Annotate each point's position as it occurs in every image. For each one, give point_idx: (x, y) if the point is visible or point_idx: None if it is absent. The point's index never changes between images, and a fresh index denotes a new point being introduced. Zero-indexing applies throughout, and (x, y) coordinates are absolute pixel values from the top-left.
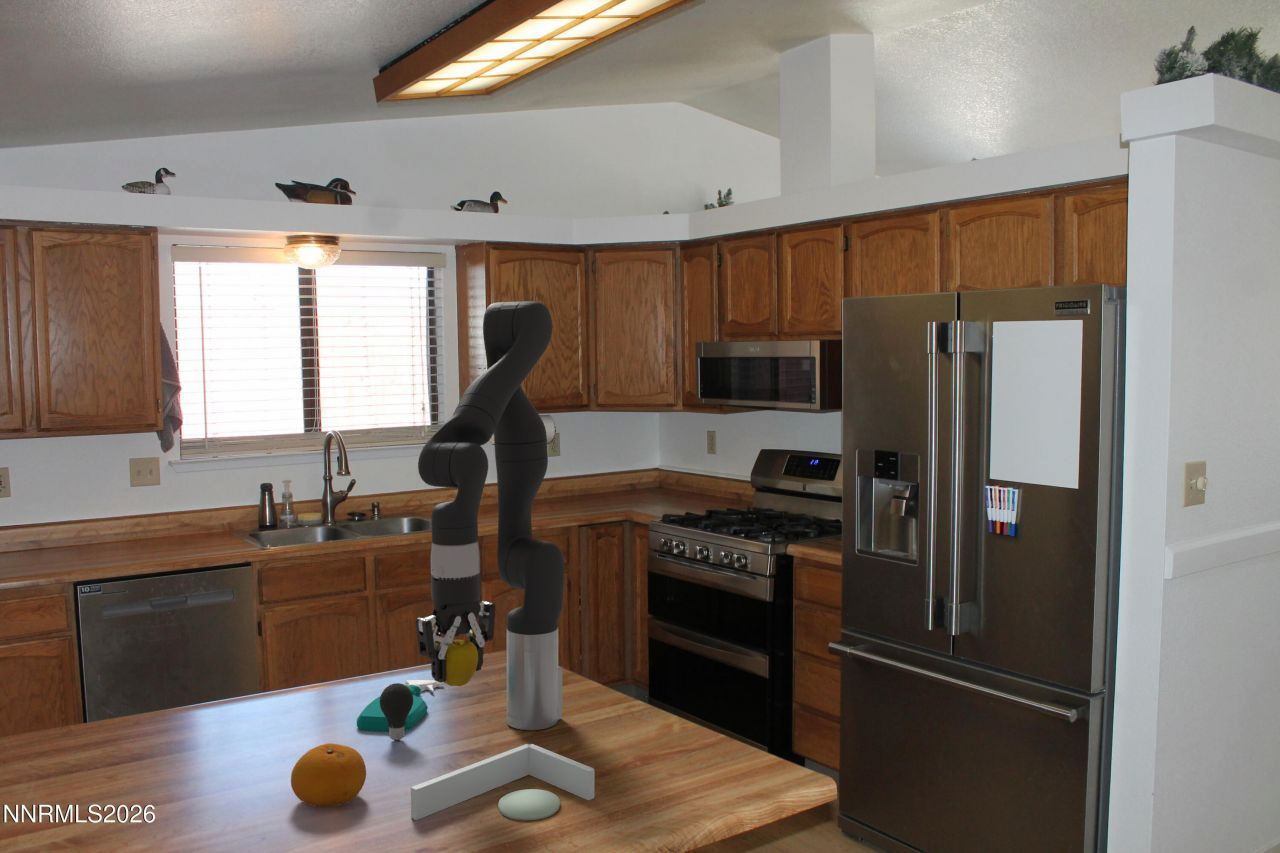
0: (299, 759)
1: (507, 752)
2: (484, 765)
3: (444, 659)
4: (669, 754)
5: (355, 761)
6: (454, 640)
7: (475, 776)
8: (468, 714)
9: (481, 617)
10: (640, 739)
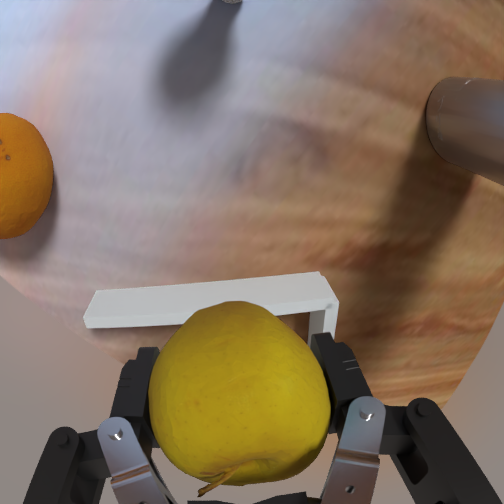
0: None
1: (283, 307)
2: None
3: (154, 446)
4: (448, 328)
5: (11, 227)
6: (253, 456)
7: None
8: (411, 4)
9: (441, 494)
10: (472, 280)
